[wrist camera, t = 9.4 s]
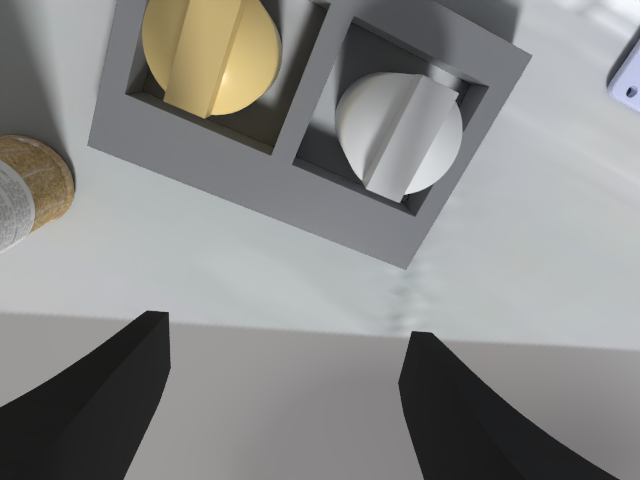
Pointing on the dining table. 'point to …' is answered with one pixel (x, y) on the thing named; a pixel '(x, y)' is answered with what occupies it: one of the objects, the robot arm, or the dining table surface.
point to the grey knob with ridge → (398, 131)
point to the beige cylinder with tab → (211, 53)
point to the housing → (279, 161)
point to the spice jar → (30, 188)
